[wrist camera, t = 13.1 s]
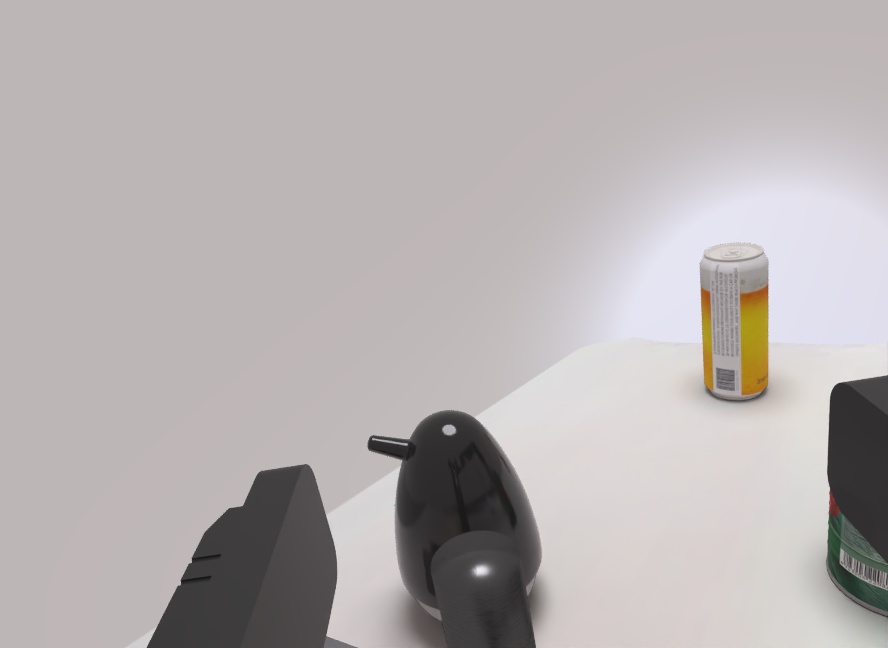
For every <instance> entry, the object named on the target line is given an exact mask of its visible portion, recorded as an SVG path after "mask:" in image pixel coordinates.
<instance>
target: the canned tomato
mask: <svg viewBox="0 0 888 648" xmlns="http://www.w3.org/2000/svg"><path fill="white" fill-rule="evenodd" d="M829 494H830V501H829V521H828V524H829V529H828V555H827V560H826V564H827V571H828V573H829V575H830V577H831V579H832V581H833V582H834V583H835V585H836V586H837V587H838V588H839V589H840V590H841V591H842V592H843V593H844V594H845V595H846V596H848V597H849V598H851V599H852V600H854V601H855V602H856V603H858V604H860V605H862V606H864V607H866V608H868V609H869V610H872V611H874V612H877V613H879V614H882V615H885V616H888V564H887V563H886V562H885V561H884V559H883V558H882V557H881V556H880V555H879V554H878V553H877V552H876V551H875V549H874V548H873V547H872V546H871V545H870V544H869V543H868V542H867V541H866V539H865V538H864V537H863V536H862V535H861V534H860V533H859V532H858V531H857V529H856V528H855V527H854V526H853V525H852V524H851V523H850V522H849V521H848V519H847V518H846V517H845V516H844V515H843V514H842V512H841V511H840V509H839V508H838V506H837V504H836V502H835V500H834V498H833V496H832V493H831V490H830V492H829Z"/></svg>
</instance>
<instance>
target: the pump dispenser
mask: <svg viewBox="0 0 888 648" xmlns="http://www.w3.org/2000/svg"><path fill="white" fill-rule="evenodd" d="M368 449H369V451H372V452H375V453H379V454H382V455H386V456H389V457H393V458H396V459H399V460H402V464H401V468H400V472H399V477H398V483H397V490H396V500H395V540H396V551H397V560H398V565H399V570H400V574H401V578H402V581H403V583H404V585H405V587H406V589H407V590H408V591H409V593H410V594H411V595H412V596H413V597H414V598H415V599H416V600H417V601H418V602H419V604H420V605H421V606H422V607H423V608H424V609H425V610H426V611H427V612H428V613H429V614H430V615H432V616H433V617H435V618H436V619H438V620H440V621H442V619H441V614H440V610H439V606H438V601H437V597H436V592H435V588H434V584H433V579H432V575H431V568H430V567H431V561H432V558H433V556H434V554H435V553H436V551H437V550H438V549H439V548H440V547H441V546H442V545H443V544H444V543H445V542H447V541H448V540H450V539H452V538H454V537H456V536H458V535H461V534H464V533H467V532H472V531H493V532H497V533H500V534H503V535H505V536H507V537H509V538H510V539H511V540H513V541H514V542H515V543H516V545H517V546H518V548H519V550H520V554H521V559H522V565H523V572H524V578H525V584H526V590H527V596H528V595H529V593H530V591H531V589H532V587H533V584H534V581H535V578H536V573H537V571H538V569H539V567H540V563H541V558H542V547H541V540H540V535H539V531H538V527H537V523H536V520H535V517H534V514H533V511H532V508H531V505H530V502H529V499H528V497H527V494H526V492H525V489H524V487H523V485H522V483H521V480H520V478H519V476H518V475H517V473H516V471H515V469H514V467H513V465H512V464H511V462H510V460H509V459H508V457H507V456H506V454H505V452H504V451H503V449H502V448H501V447H500V445H499V444H498V442H497V441H496V440H495V438H494V437H493V436H492V435H491V433H490V432H489V431H488V430H487V429H486V428H485V427H484V426H483V425H482V424H481V423H480V422H479V421H478V420H476V419H475V418H474V417H472V416H471V415H469V414H466V413H464V412H460V411H454V410H453V411H452V410H446V411H440V412H437V413H434V414H432V415H430V416H428V417H427V418H425V419H424V420H423V421H421V422H420V424H419V425H418V426H417V427H416V429H415V431H414V432H413V434H412V436H411V438H410V439H409V440H408V439H399V438H391V437H383V436H374V435H373V436H371V437H370V438H369V440H368Z"/></svg>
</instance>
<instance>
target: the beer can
mask: <svg viewBox="0 0 888 648" xmlns="http://www.w3.org/2000/svg"><path fill="white" fill-rule="evenodd" d="M700 280H701V281H700V282H701V307H702V335H703V361H704V383H705V385H706V386H707V387H708V388H709V389H710V391H711V392H712V393H713V394H714V395H716V396H717V397H720V398H723V399H728V400H747V399H752V398H755V397H757V396H758V395H760V394H761V393H762V391H763V390H764V389H765V388H766V387H767V386H768V259H767V257H766V255H765V253H764V250H763V248H762V247H761V246H759V245H756V244H751V243H727V244H720V245H716V246H713V247H710V248H708V249H706V250H705V251H704V256H703V258H702V260H701V262H700Z"/></svg>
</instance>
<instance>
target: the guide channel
mask: <svg viewBox="0 0 888 648" xmlns="http://www.w3.org/2000/svg"><path fill="white" fill-rule="evenodd" d="M324 648H357V647H354V646H351V645H349V644H346V643H343V642H340V641H338V640H335V639H332V638H329V637H327V636H326V639H325V644H324Z"/></svg>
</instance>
